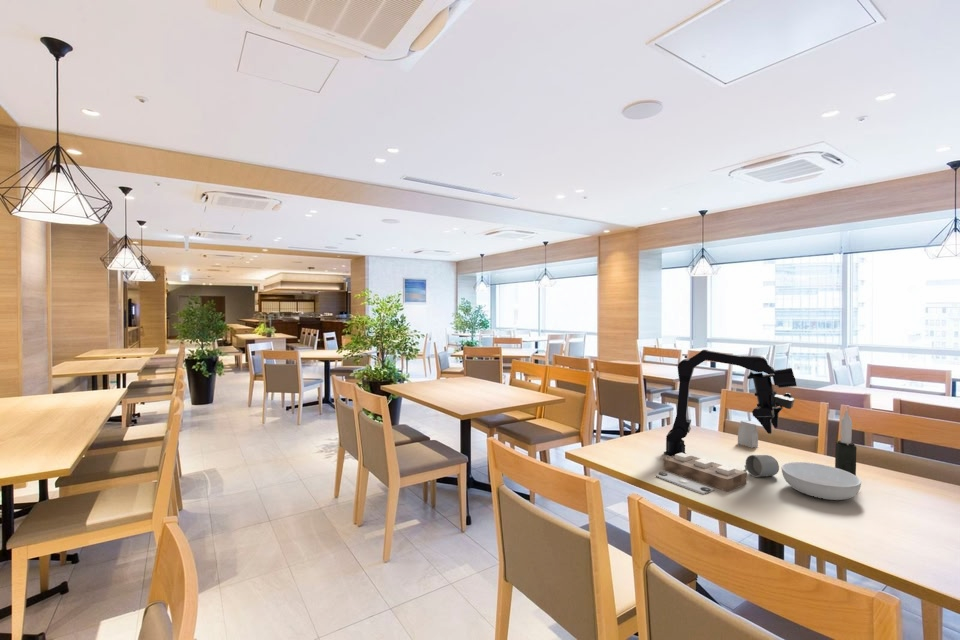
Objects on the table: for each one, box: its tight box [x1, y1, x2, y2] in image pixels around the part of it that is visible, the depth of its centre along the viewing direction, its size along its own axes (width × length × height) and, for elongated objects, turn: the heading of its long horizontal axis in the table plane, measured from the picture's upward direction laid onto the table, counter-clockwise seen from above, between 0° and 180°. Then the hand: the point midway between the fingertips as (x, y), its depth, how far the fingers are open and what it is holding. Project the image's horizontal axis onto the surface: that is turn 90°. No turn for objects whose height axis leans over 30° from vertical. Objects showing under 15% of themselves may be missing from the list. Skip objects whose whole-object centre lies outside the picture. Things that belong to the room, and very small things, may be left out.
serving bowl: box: [781, 461, 862, 501], centre depth 146 cm, size 21×21×7 cm
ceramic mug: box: [744, 454, 780, 478], centre depth 163 cm, size 11×8×8 cm
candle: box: [834, 409, 857, 476], centre depth 157 cm, size 5×5×25 cm
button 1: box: [675, 452, 692, 462], centre depth 168 cm, size 4×4×3 cm
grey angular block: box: [737, 420, 759, 449], centre depth 197 cm, size 4×7×10 cm, turn 24°
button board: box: [663, 455, 748, 492], centre depth 161 cm, size 24×12×4 cm, turn 32°
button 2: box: [717, 464, 736, 476], centre depth 154 cm, size 4×4×3 cm
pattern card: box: [655, 471, 714, 495], centre depth 155 cm, size 19×6×1 cm, turn 32°
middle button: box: [695, 458, 713, 469], centre depth 161 cm, size 4×4×3 cm
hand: (773, 430), depth 167 cm, fingers open, 9 cm apart
